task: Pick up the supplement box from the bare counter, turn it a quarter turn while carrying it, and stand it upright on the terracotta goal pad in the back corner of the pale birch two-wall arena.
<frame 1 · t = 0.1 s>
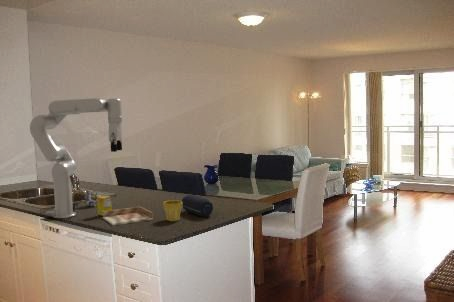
hand: (116, 150, 253), 37 cm above the counter, tool pointing down, fingers open, 9 cm apart
portable speaker: (197, 214, 255), on the counter
plant pot: (173, 220, 242), on the counter
arena: (127, 219, 247), on the counter
passion flower: (93, 206, 286), on the counter
supplement box: (105, 215, 257), on the counter
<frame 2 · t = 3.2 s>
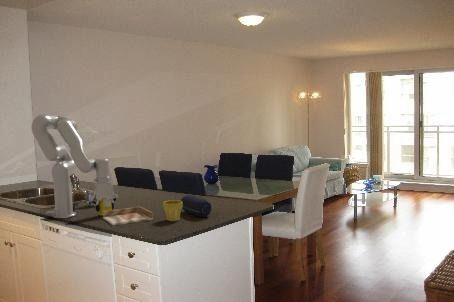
hand: (104, 210, 257), 3 cm above the counter, tool pointing down, fingers closed on supplement box, 7 cm apart
supplement box: (105, 215, 257), on the counter, touching gripper
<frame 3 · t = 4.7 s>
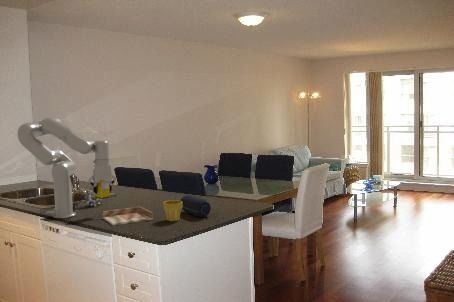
hand: (102, 192, 256), 13 cm above the counter, tool pointing down, fingers closed on supplement box, 7 cm apart
supplement box: (102, 198, 257), point 10 cm above the counter, touching gripper
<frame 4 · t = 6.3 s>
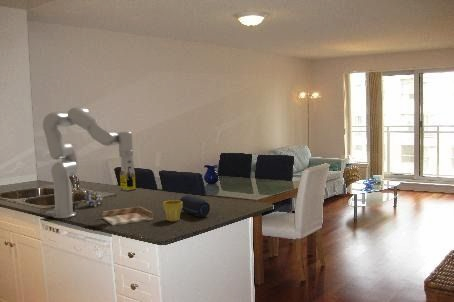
hand: (128, 185, 248), 18 cm above the counter, tool pointing down, fingers closed on supplement box, 7 cm apart
supplement box: (128, 191, 248), point 15 cm above the counter, touching gripper
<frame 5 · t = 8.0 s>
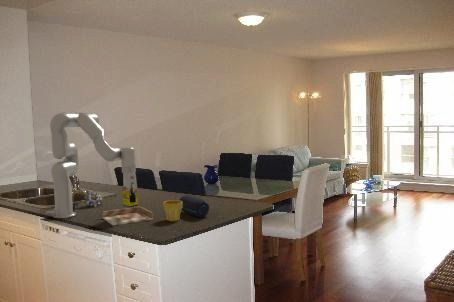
hand: (130, 201, 248), 10 cm above the counter, tool pointing down, fingers closed on supplement box, 7 cm apart
supplement box: (130, 206, 248), point 6 cm above the counter, touching gripper
when the fingers open (5 cm above the counter, at t = 9.4 s): supplement box drops 1 cm, resting on arena.
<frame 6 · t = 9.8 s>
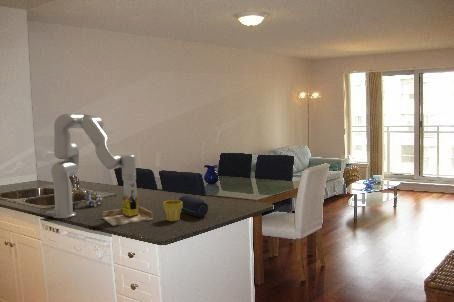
hand: (130, 207, 248), 6 cm above the counter, tool pointing down, fingers open, 9 cm apart
supplement box: (130, 216, 249), point 1 cm above the counter, touching arena
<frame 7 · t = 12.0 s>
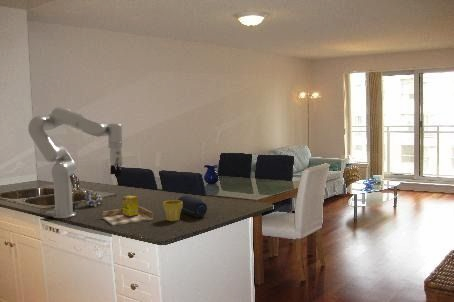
hand: (115, 175, 255), 23 cm above the counter, tool pointing down, fingers open, 9 cm apart
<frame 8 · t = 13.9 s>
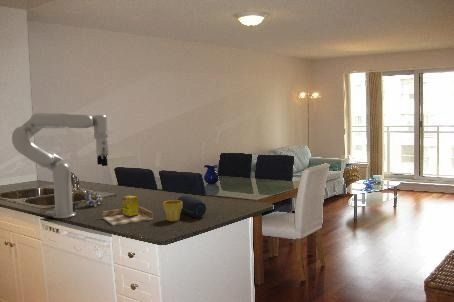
hand: (102, 165, 263), 28 cm above the counter, tool pointing down, fingers open, 9 cm apart
at the end: supplement box 0.1 cm from the target spot on the arena, point 0.9 cm above the arena's base; supplement box tilted 0°; the gripper is holding nothing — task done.
